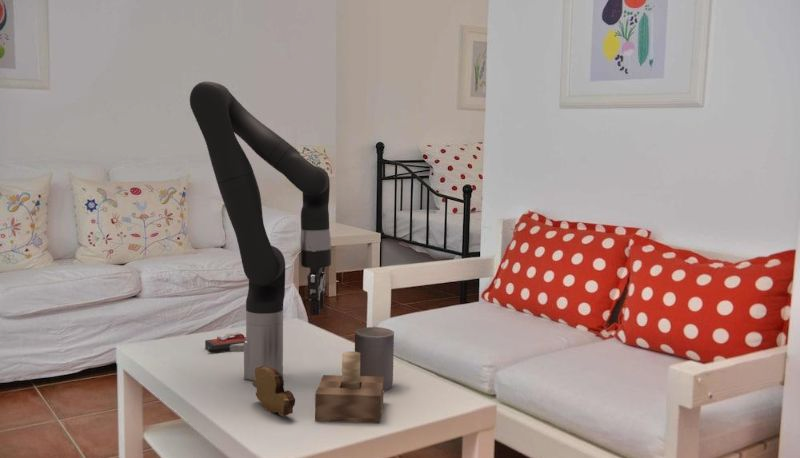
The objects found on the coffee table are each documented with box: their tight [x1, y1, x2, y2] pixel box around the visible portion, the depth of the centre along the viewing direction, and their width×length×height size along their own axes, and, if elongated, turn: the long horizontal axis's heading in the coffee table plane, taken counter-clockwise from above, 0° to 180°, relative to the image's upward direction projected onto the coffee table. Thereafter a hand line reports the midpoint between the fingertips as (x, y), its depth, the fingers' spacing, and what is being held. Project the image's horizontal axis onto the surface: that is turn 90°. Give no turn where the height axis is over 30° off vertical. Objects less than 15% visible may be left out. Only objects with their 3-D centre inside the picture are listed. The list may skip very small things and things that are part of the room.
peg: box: [341, 350, 360, 388], centre depth 180 cm, size 4×4×12 cm
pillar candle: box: [354, 326, 395, 392], centre depth 198 cm, size 10×10×15 cm
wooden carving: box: [251, 366, 296, 417], centre depth 179 cm, size 16×5×10 cm, turn 40°
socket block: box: [314, 374, 385, 424], centre depth 180 cm, size 14×14×6 cm
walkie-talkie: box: [204, 332, 246, 354], centre depth 232 cm, size 9×4×20 cm
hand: (317, 311), depth 203 cm, fingers open, 8 cm apart
